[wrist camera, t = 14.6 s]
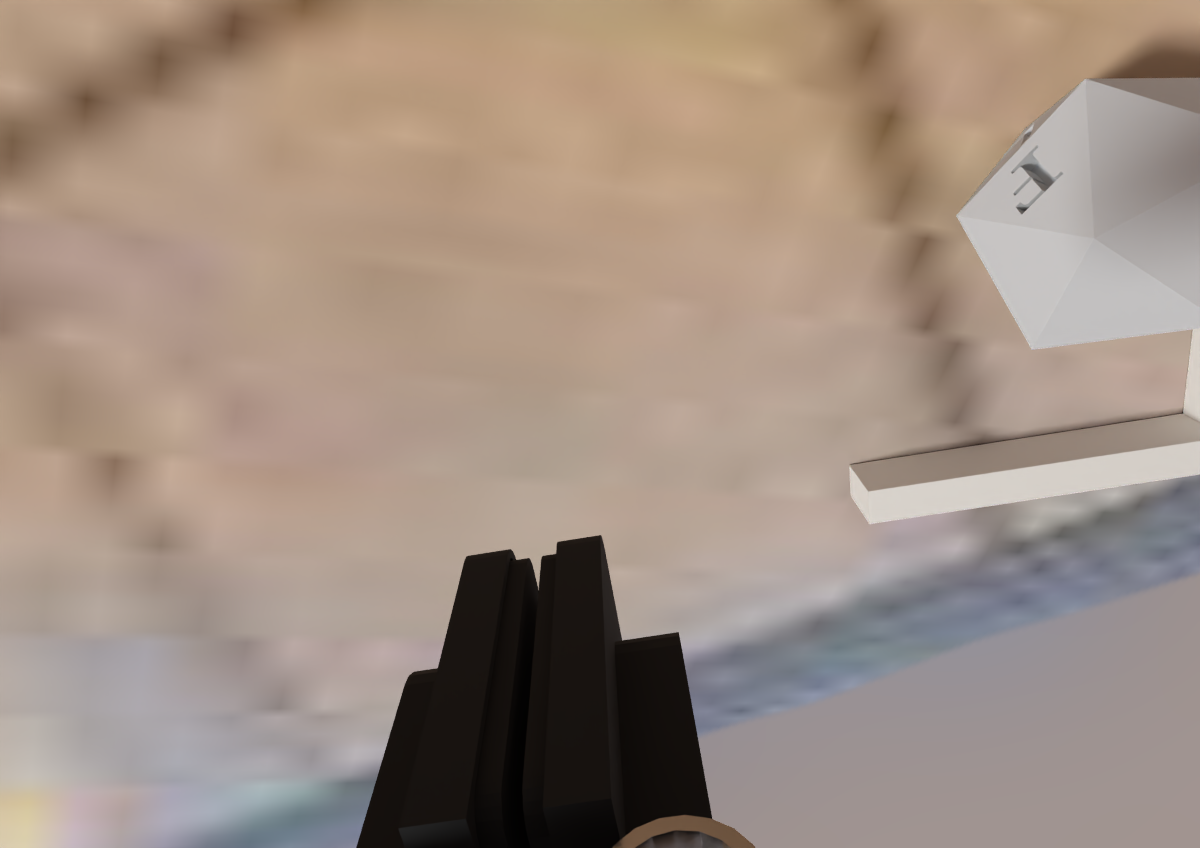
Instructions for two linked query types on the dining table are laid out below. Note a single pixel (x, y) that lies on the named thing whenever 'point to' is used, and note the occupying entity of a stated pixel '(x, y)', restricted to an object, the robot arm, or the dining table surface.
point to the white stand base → (1035, 464)
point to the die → (1098, 214)
